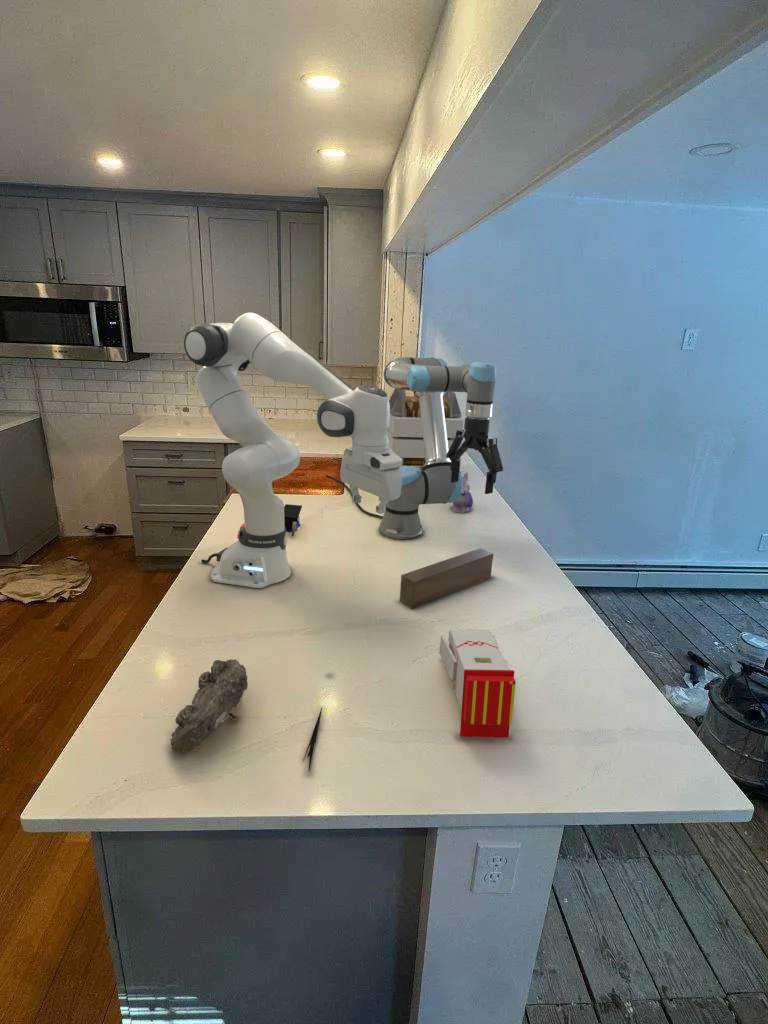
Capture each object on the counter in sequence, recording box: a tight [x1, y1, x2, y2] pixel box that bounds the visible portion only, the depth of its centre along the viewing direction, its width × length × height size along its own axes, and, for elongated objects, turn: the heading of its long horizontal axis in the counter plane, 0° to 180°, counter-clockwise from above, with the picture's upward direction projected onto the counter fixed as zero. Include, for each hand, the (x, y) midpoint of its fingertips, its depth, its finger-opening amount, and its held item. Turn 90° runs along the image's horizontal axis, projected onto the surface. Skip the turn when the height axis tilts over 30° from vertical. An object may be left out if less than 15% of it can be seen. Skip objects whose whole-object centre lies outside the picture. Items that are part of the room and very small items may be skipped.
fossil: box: [170, 658, 249, 753], centre depth 106 cm, size 22×10×15 cm
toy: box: [438, 628, 517, 738], centre depth 117 cm, size 12×13×30 cm
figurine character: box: [284, 503, 303, 537], centre depth 197 cm, size 7×8×15 cm
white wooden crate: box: [387, 388, 465, 467], centre depth 268 cm, size 34×33×41 cm
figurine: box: [451, 472, 474, 514], centre depth 225 cm, size 9×10×15 cm
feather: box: [301, 673, 332, 771], centre depth 108 cm, size 2×28×2 cm
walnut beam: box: [399, 547, 494, 610], centre depth 161 cm, size 5×32×8 cm, turn 130°
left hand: (368, 507), depth 143 cm, fingers open, 8 cm apart
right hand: (471, 487), depth 172 cm, fingers open, 13 cm apart
